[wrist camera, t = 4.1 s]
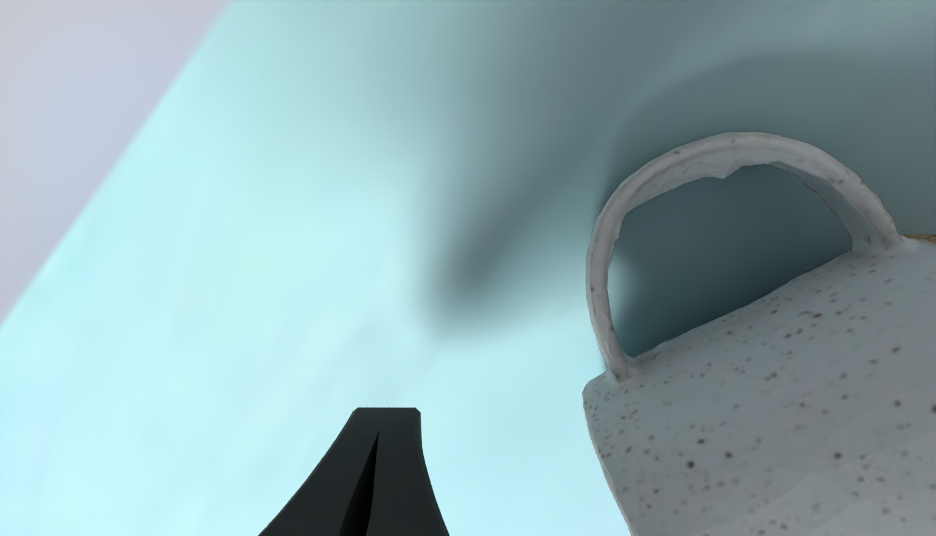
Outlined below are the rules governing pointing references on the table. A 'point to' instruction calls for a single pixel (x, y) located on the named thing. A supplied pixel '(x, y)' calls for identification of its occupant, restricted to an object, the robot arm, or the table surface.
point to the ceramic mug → (776, 376)
